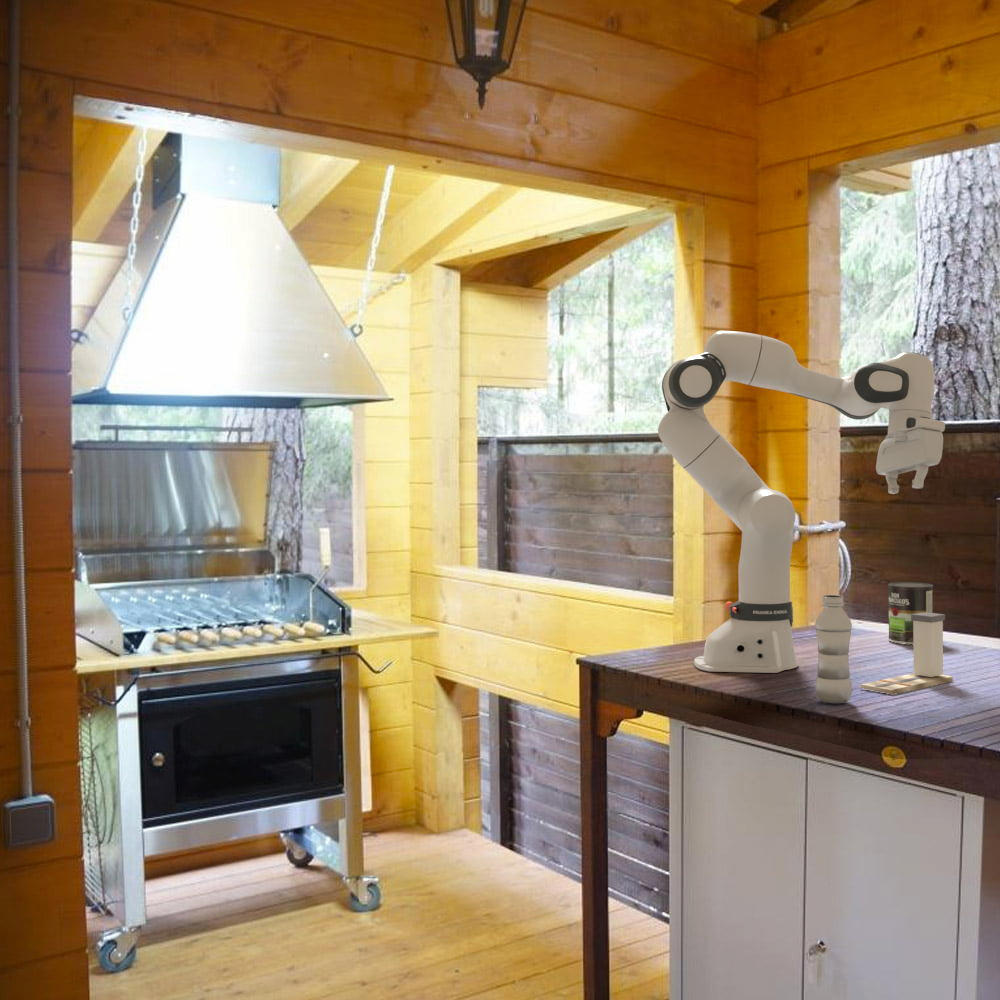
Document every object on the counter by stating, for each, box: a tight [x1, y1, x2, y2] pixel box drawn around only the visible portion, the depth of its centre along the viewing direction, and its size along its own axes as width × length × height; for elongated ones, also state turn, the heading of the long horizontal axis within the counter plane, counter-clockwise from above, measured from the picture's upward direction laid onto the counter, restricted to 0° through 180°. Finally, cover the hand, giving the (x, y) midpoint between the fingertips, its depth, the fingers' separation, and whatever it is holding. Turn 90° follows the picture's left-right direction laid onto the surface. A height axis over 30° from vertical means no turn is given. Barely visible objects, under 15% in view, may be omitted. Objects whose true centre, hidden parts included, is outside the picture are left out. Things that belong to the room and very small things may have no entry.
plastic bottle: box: [814, 594, 853, 704], centre depth 207 cm, size 6×7×20 cm
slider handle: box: [911, 612, 946, 677], centre depth 226 cm, size 5×5×12 cm
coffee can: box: [887, 581, 934, 644], centre depth 272 cm, size 10×10×14 cm
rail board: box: [860, 672, 954, 695], centre depth 222 cm, size 20×7×1 cm, turn 125°
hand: (905, 490), depth 239 cm, fingers open, 8 cm apart
